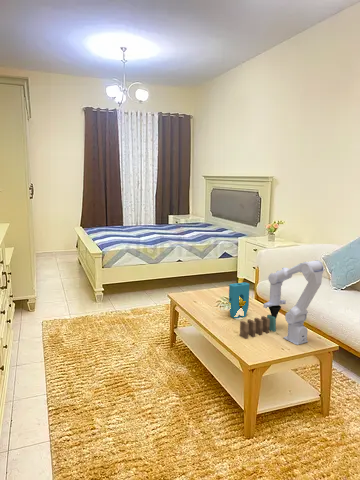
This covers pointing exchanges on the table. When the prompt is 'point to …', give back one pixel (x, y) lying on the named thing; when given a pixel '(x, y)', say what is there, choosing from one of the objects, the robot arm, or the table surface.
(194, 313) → the table surface
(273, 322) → the teal domino
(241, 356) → the table surface
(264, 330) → the walnut domino
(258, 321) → the walnut domino
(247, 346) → the table surface
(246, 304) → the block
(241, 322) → the walnut domino
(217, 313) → the table surface
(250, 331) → the walnut domino
